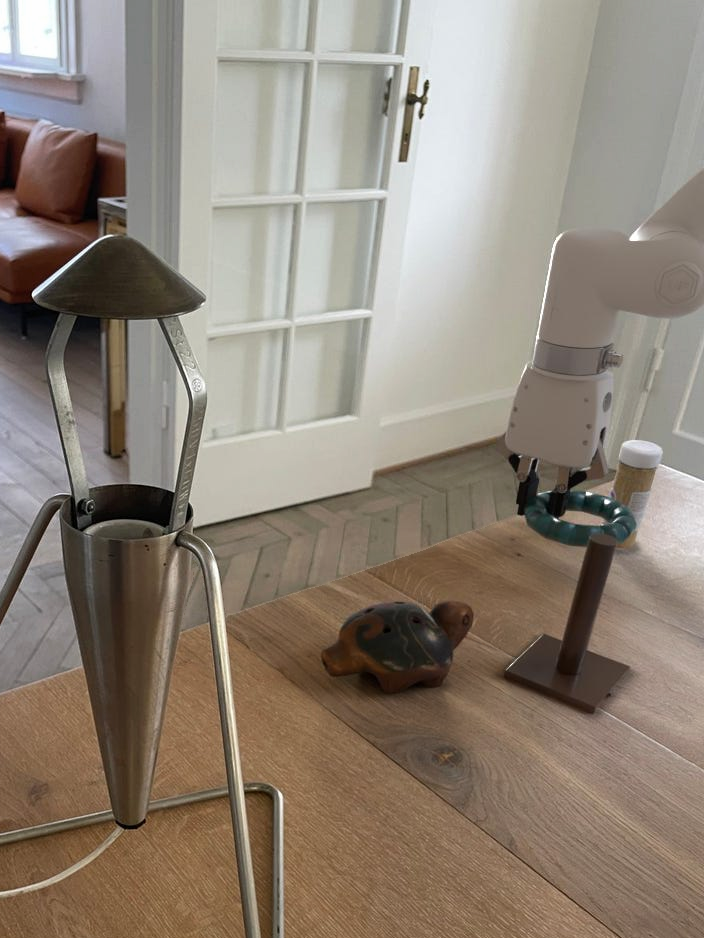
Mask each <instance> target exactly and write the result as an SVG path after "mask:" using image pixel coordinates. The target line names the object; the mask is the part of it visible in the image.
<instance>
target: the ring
mask: <svg viewBox="0 0 704 938" xmlns="http://www.w3.org/2000/svg"><path fill="white" fill-rule="evenodd" d="M551 491H552V490H549V491H544V492H539V493H537V494H536V496H535V497H534V498H532V499H531V500H530V501H528V502H527V503H526V505H525V507H524V514H525V515H524V519H525V523H526V524H527V526H528V528H529V529H531V530H532V531H534V532H536V533H537V534H539V535H540V536H541V537H543V538H544V539H547V540H550V541H553V542H557V543H560V544H563V545H567V546H569V547H578V548H579V547H580V548H587V544H588V541H589V537H590V536H591V535H592V534H597V533H600V534H606V535H610V536H612V537H614V538H615V539H616V540H617V544H621V543H623V542H624V541H625V540H626V539H627V538H628V537H629V536H631V535H632V534H633V533H634V531H635V529H636V521H635V519H634V517H633V515H632V512H631V510H630V509H629V508H628V507H626V506H624V505H623V504H621V503H619V502H617V501H616V500H614V499H612V498H610V497H609V496H606V495H602V494H599V493H596V492H592V491H588V490H575V489H571V490H570V494H569V499H568V504H567V508H566V512H579V513H580V512H581V513H584V514H588V515H592V516H596V517H598V518H601V519H602V520H603V519H604V520H606V521H608V522H609V524H604V525H602V524H600V525H595V524H580V523H574V522H571V521H567V520H564V519H560V518H558V519H557V518H555V517H554V516H552V515H551V514H549V513H547V507H548V502H549V497H550V493H551Z"/></svg>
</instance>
